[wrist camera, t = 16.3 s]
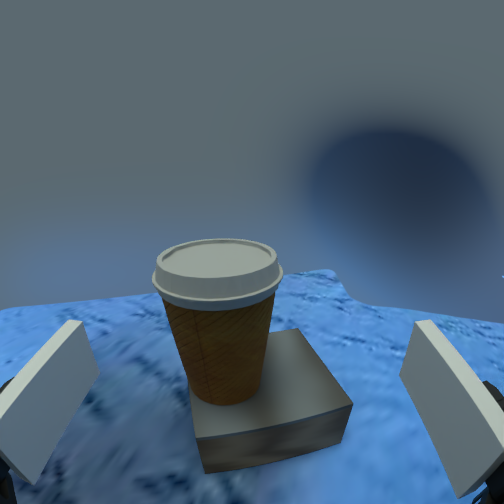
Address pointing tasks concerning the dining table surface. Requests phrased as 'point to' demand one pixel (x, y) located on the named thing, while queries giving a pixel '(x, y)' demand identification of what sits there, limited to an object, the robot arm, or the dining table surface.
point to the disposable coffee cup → (219, 312)
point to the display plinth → (274, 411)
